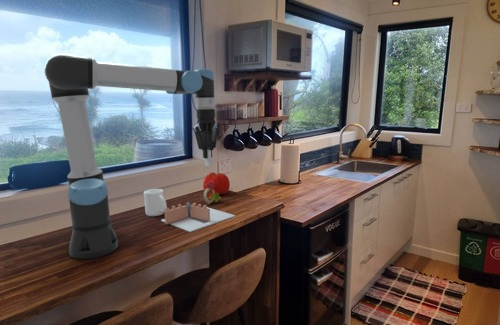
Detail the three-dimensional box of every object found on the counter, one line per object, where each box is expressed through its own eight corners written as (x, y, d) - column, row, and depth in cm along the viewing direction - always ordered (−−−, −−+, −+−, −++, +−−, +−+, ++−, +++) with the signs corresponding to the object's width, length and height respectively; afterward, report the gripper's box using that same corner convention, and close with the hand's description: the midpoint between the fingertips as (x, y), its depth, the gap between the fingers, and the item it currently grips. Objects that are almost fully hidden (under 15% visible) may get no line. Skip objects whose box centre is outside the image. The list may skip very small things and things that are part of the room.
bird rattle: (214, 209, 167) (223, 197, 174) (207, 190, 162) (217, 179, 168) (204, 207, 171) (213, 196, 177) (197, 189, 165) (207, 178, 171)
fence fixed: (167, 225, 140) (166, 208, 139) (165, 224, 141) (164, 208, 140) (191, 217, 149) (190, 202, 148) (189, 217, 150) (188, 201, 149)
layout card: (187, 232, 131) (187, 231, 131) (158, 221, 145) (158, 220, 145) (235, 216, 149) (235, 215, 149) (205, 207, 163) (205, 206, 163)
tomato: (234, 194, 184) (233, 173, 182) (210, 199, 177) (209, 176, 175) (222, 189, 195) (222, 169, 193) (199, 193, 188) (198, 172, 186)
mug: (173, 214, 154) (172, 191, 153) (158, 219, 148) (156, 195, 146) (156, 209, 162) (155, 188, 160) (141, 214, 155) (139, 191, 154)
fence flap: (189, 217, 147) (188, 203, 146) (192, 216, 149) (191, 202, 148) (207, 221, 142) (207, 206, 140) (210, 220, 143) (209, 205, 142)
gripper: (198, 109, 135) (201, 169, 139) (223, 108, 144) (225, 164, 148) (187, 109, 140) (190, 166, 144) (212, 108, 149) (214, 162, 153)
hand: (208, 165), depth 146 cm, fingers closed
